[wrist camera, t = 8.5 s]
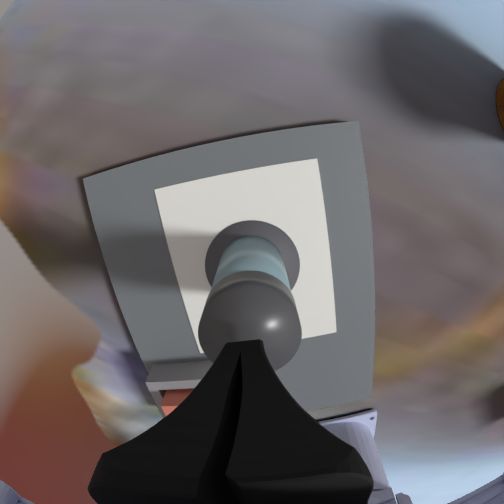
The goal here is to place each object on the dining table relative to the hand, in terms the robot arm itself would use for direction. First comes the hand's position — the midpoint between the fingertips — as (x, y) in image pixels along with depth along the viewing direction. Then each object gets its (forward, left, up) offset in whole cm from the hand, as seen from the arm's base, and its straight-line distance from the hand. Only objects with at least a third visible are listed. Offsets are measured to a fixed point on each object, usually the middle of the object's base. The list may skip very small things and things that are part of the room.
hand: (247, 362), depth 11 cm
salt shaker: (0, 0, -9) cm, 9 cm away
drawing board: (-3, +1, -10) cm, 11 cm away
